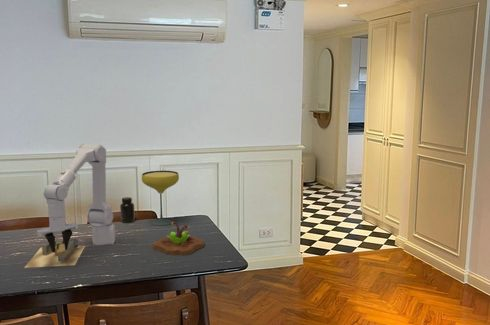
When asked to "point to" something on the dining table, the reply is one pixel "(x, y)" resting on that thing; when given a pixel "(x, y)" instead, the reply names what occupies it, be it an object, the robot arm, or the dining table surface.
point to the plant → (178, 243)
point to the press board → (54, 259)
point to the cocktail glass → (160, 187)
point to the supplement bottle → (127, 210)
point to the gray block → (47, 249)
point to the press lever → (71, 246)
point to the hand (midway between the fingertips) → (59, 250)
